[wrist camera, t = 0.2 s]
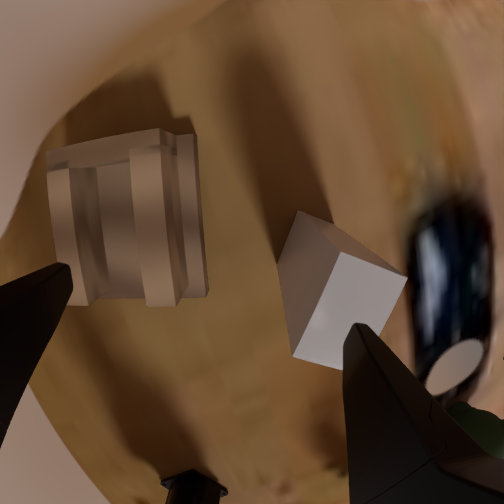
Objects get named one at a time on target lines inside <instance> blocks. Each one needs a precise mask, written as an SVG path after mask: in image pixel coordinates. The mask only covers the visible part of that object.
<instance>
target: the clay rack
mask: <svg viewBox="0 0 504 504" xmlns="http://www.w3.org/2000/svg"><path fill="white" fill-rule="evenodd" d="M46 171H47V186H48V197H49V207H50V216H51V224H52V231H53V238H54V244H55V250H56V256H57V262H61V263H65V264H68V265H69V266H70V268H71V273H72V279H73V292H72V294H71V297H70V299H69V301H68V303H67V305H74V306H89V305H90V304H91V303H93V302H94V301H95V300H96V299H97V298H146V304H147V307H161V306H177V304H178V302H179V301H180V299H181V298H198V297H206V296H207V294H208V291H209V286H208V276H207V266H206V255H205V244H204V233H203V221H202V208H201V195H200V180H199V165H198V147H197V136H196V135H194V134H184V135H174V134H172V133H170V132H167V131H165V130H163V129H160V128H155V129H149V130H143V131H137V132H131V133H125V134H120V135H114V136H109V137H104V138H100V139H95V140H90V141H86V142H81V143H77V144H73V145H69V146H65V147H61V148H57V149H53V150H49V151H46Z"/></svg>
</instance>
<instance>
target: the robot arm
mask: <svg viewBox="0 0 504 504" xmlns="http://www.w3.org/2000/svg"><path fill="white" fill-rule="evenodd" d="M72 292H73V279H72V273H71V268H70V266H69V265H68V264H65V263H61V262H57V263H55V264H52V265H50V266H47V267H45V268H42V269H40V270H37V271H35V272H32V273H30V274H28V275H25V276H23V277H20V278H18V279H16V280H13V281H11V282H9V283H6V284H4V285H2V286H0V448H1V445H2V443H3V440H4V437H5V435H6V432H7V429H8V427H9V425H10V421H11V420H12V417H13V415H14V412H15V410H16V408H17V406H18V403H19V401H20V399H21V397H22V395H23V392H24V390H25V388H26V386H27V384H28V382H29V380H30V378H31V376H32V374H33V372H34V370H35V368H36V366H37V364H38V362H39V360H40V358H41V356H42V354H43V352H44V350H45V348H46V346H47V344H48V343H49V341H50V339H51V337H52V335H53V333H54V331H55V330H56V328H57V325H58V323H59V321H60V319H61V316H62V314H63V312H64V310H65V307H66V305H67V303H68V301H69V299H70V297H71V294H72ZM343 402H344V413H345V425H346V438H347V453H348V471H349V496H350V504H504V459H502V458H498V457H495V456H493V455H491V454H490V453H488V452H487V451H485V450H484V449H483V448H482V447H481V446H480V445H479V444H478V443H477V442H476V441H475V440H474V439H473V438H472V437H471V436H470V435H469V434H468V433H467V432H466V431H465V430H464V429H463V428H462V427H461V426H460V425H459V424H458V423H457V422H456V421H455V420H454V419H453V418H452V417H451V416H450V415H449V414H448V413H447V412H446V411H445V410H444V409H443V407H442V406H441V405H440V404H439V403H438V402H437V401H436V400H435V398H433V397H432V395H431V394H430V393H429V392H428V391H427V389H426V388H425V387H424V386H423V385H422V384H421V383H420V382H419V380H418V379H417V378H416V377H415V376H414V375H413V374H412V373H411V372H410V370H409V369H408V368H407V367H406V366H405V365H404V364H403V363H402V362H401V360H400V359H399V358H398V357H397V356H396V355H395V354H394V353H393V352H392V351H391V349H390V348H389V347H388V346H387V345H386V344H385V343H384V342H383V341H382V340H381V339H380V337H379V336H378V335H377V334H376V333H375V332H374V331H373V330H372V329H371V328H370V327H369V326H368V325H367V324H365V323H357V322H356V323H354V324H353V325H352V327H351V329H350V331H349V333H348V335H347V337H346V339H345V341H344V344H343ZM160 484H161V485H162V486H164V487H165V488H167V489H168V490H169V492H168V496H167V500H166V503H165V504H219V502H220V497H223V496H226V495H228V491H227V490H225V489H224V488H222V487H220V486H219V485H217V484H215V483H214V482H212V481H211V480H209V479H207V478H206V477H204V476H203V475H201V474H200V473H198V472H197V471H195V470H190V471H187V472H184V473H182V474H179V475H176V476H174V477H171V478H168V479H165V480H162V481H161V483H160Z"/></svg>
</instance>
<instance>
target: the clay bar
mask: <svg viewBox="0 0 504 504" xmlns="http://www.w3.org/2000/svg"><path fill="white" fill-rule="evenodd" d="M277 270H278V275H279V281H280V287H281V292H282V298H283V304H284V310H285V316H286V322H287V328H288V334H289V340H290V346H291V352H292V357H295V358H299V359H302V360H306V361H310V362H313V363H317V364H321V365H324V366H328V367H332V368H336V369H340V370H343V344H344V341H345V339H346V337H347V335H348V333H349V331H350V329H351V327H352V325H353V324H354V323H356V322H357V323H365V324H367V325H368V326H369V327H370V328H371V329H372V330H373V331H374V332H375V333H376V334H377V335H378V336H379V335H380V333H381V331H382V329H383V327H384V325H385V323H386V321H387V319H388V317H389V315H390V314H391V312H392V310H393V308H394V306H395V304H396V302H397V299H398V297H399V295H400V293H401V291H402V289H403V287H404V285H405V283H406V280H407V277H406V276H404V275H403V274H402V273H400V272H399V271H398V270H396V269H395V268H394V267H392V266H391V265H390V264H388V263H387V262H386V261H384V260H383V259H382V258H380V257H379V256H378V255H376V254H375V253H374V252H372V251H371V250H370V249H368V248H367V247H365V246H364V245H363V244H361V243H360V242H358V241H357V240H356V239H354V238H353V237H351V236H350V235H349V234H347V233H346V232H344V231H343V230H342V229H340V228H339V227H337V226H336V225H334V224H332V223H330V222H327V221H325V220H322V219H319V218H317V217H314V216H312V215H309V214H307V213H304V212H301V211H299V210H298V212H297V214H296V217H295V219H294V222H293V225H292V227H291V230H290V232H289V235H288V237H287V240H286V243H285V245H284V248H283V250H282V253H281V255H280V258H279V260H278V263H277Z"/></svg>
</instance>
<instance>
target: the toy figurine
mask: <svg viewBox="0 0 504 504" xmlns="http://www.w3.org/2000/svg"><path fill="white" fill-rule="evenodd" d="M449 415H450V416H451V417H452V418H453V419H454V420H455V421H456V422H457V423H458V424H459V425H460V426H461V427H462V428H463V429H464V430H465V431H466V432H467V433H468V434H469V435H470V436H471V437H472V438H473V439H474V440H475V441H476V442H477V443H478V444H479V445H480V446H481V447H482V448H483V449H484V450H485V451H487V452H488V453H490V454H491V455H493V456H495V457H498V458H502V459H504V419H502V420H501V419H499V418H498V417H497V416H496V415H494V414H493V413H491V412H488V411H485V410H479V409H476V408H474V407H471V406H470V405H469V404H468V403H467V402H458V403H456V404H454V405H453V406H452V407H451V409H450V411H449Z"/></svg>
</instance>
